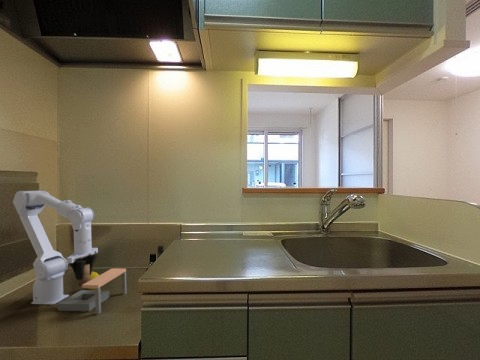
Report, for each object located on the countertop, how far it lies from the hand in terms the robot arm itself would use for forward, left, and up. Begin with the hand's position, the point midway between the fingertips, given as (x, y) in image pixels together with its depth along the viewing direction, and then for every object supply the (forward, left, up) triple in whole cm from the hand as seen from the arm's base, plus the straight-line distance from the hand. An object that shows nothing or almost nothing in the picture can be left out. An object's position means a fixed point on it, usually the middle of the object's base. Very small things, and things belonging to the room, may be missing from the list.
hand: (83, 277), depth 104 cm
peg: (0, 0, -3) cm, 3 cm away
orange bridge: (+8, +1, -10) cm, 13 cm away
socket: (0, 0, -10) cm, 10 cm away
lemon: (-5, +12, -10) cm, 17 cm away
